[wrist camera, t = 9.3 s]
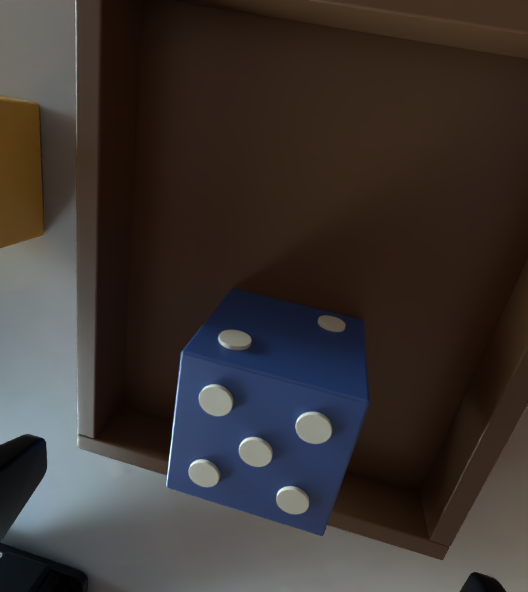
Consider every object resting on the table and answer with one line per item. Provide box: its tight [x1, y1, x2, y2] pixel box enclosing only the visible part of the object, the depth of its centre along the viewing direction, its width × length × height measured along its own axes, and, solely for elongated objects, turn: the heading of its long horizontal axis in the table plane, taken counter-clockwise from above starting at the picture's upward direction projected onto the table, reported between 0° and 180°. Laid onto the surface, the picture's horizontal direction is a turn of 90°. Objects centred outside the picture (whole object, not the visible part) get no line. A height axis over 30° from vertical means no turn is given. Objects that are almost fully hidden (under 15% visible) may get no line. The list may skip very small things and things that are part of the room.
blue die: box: [166, 288, 370, 536], centre depth 12 cm, size 5×4×5 cm
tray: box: [75, 0, 528, 560], centre depth 12 cm, size 15×13×3 cm
